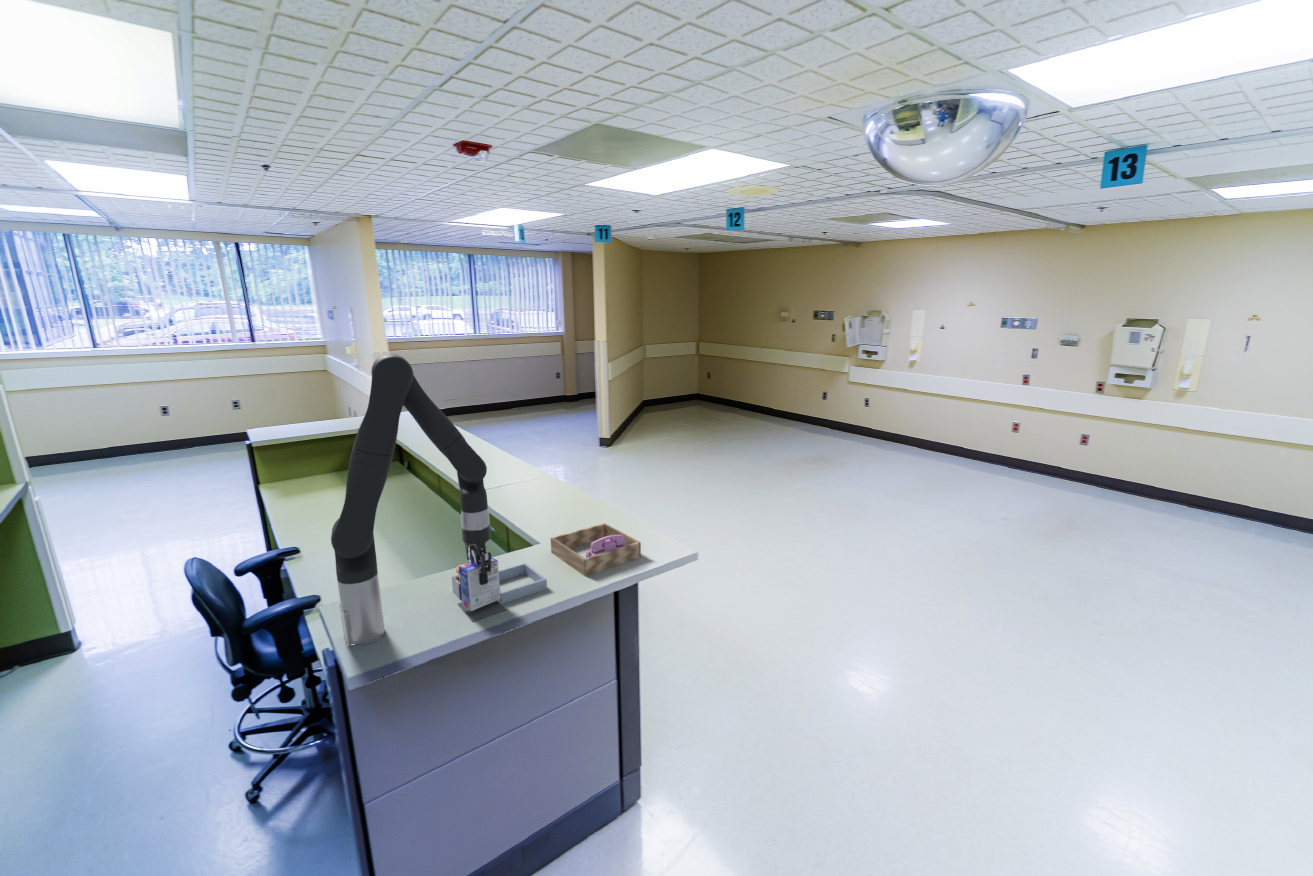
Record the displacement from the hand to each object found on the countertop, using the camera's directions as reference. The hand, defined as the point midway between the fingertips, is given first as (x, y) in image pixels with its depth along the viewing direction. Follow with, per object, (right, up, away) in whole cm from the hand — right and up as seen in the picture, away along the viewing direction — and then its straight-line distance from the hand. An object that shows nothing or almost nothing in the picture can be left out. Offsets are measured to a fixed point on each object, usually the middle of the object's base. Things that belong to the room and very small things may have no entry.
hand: (479, 579), depth 158 cm
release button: (-7, -6, +10) cm, 14 cm away
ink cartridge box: (0, -7, +2) cm, 7 cm away
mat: (0, -9, +2) cm, 9 cm away
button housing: (-7, -7, +10) cm, 15 cm away
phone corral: (+29, -1, +36) cm, 46 cm away
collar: (+6, -6, +14) cm, 16 cm away
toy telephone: (+33, -3, +29) cm, 44 cm away
